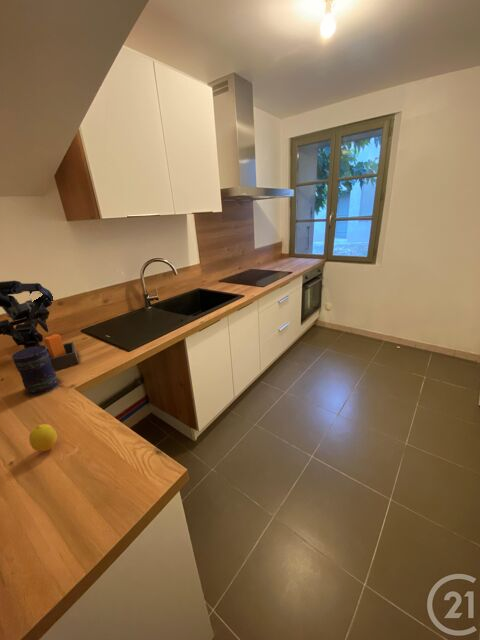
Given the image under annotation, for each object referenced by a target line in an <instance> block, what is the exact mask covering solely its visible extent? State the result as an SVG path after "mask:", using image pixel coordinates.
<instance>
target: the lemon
mask: <svg viewBox="0 0 480 640" xmlns="http://www.w3.org/2000/svg"><path fill="white" fill-rule="evenodd" d="M28 438H29V444H30V446H31V448H32V449H33V450H35V451H37V452H46V451H49V450H51V448H53V447H54V445H55V444H56V442H57V438H58V435H57V432H56V429H55V428H54V427H53V426H52V425H50V424H48V423H47V424H46V423H42V424H39V425H36V426H35V427H34V428H33V429H32V430H31V431H30V433H29V437H28Z"/></svg>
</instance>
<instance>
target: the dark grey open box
mask: <svg viewBox="0 0 480 640" xmlns="http://www.w3.org/2000/svg"><path fill="white" fill-rule="evenodd" d="M63 346H64V348H65V351H66V354H65V355H62V356H58V357H54V358H51V356H50V354H49V351H48V348H47V347H46V349H47V352H48V354H49V357H50V360H51V361H50V362H51V365H52V368H53V369H54V371H55V372H56V371H59V370H63V369H66V368H69V367H73V366H76V365H79V364H80V363H79V359H78V353H77V350H76V347H75V343H74V341H70V342H67V343H63Z"/></svg>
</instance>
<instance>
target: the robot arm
mask: <svg viewBox="0 0 480 640" xmlns="http://www.w3.org/2000/svg"><path fill="white" fill-rule="evenodd" d="M25 292H28V293H29V295H30V294H31V293H32V292H33V293H35V292H39V294H41V293H42V294H43V295H42V296H41V297H39V298H38V299H36V300H34V301H33V302H32V299H29V300H26V301H25V302H23V303H20V302H19V301H18V299H17V298H15V296H13V295H19V294H22V293H25ZM52 295H53V293H52V292H51V291H50V290H49V289H47V288H46V287H44V286H43V285H42V284H41V283H40V282H39V283H38V282H34V283H31V282H30V283H29V282H27V283H23V282H21V281H19V280H8V281H7V280H6V281H4V280H3V281H0V308H2V309H3V310H4V312H5V313H6V314H7V316H6V317H8V318H10V319H11V321H9V319H2V320H0V336H1V335H2V336H8V337H11V338H12V340H13V342H14V343H15V344H16V345H17V346H18V347H20V346H23V349H25V348H28V347H32V346H41V344H40V343H41V342H43V341H44V336H43V334H42V333H40V332H39V331H38V329H37V327H38V325H39V326H40V328H42V329H43V330H44V332H46V333H48V332H49V328H48V326H47V320H48V319H49V316H50V313H51V312H50V310H49V309H48V308H49V307H50V306H52V305H53V303H52V302H51V301H53V302H54V300H55V299H54V300H53V296H54V295H53V296H52Z"/></svg>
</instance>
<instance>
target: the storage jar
mask: <svg viewBox="0 0 480 640" xmlns="http://www.w3.org/2000/svg"><path fill="white" fill-rule="evenodd" d="M11 358H12V360H13V363H14V366H15V368H16V371H18V372H19V375H20V377H21V382H22V384H23V387H24V389H25V390H26V393H27V395H28V396H39V395H44V394H46V393H48V392H51V391H52V390H54V389H55V388H56V387H57V386H59V380H58V376H57V373H56V371H54V369H53V368H52V365H51V362H50V361H51V360H50V357H49V354H48V352H47V346H45V345H40V346H32V347H28V348H23V349H20V350H18V351H16V352H14V353H13V354H12V355H11Z"/></svg>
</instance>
